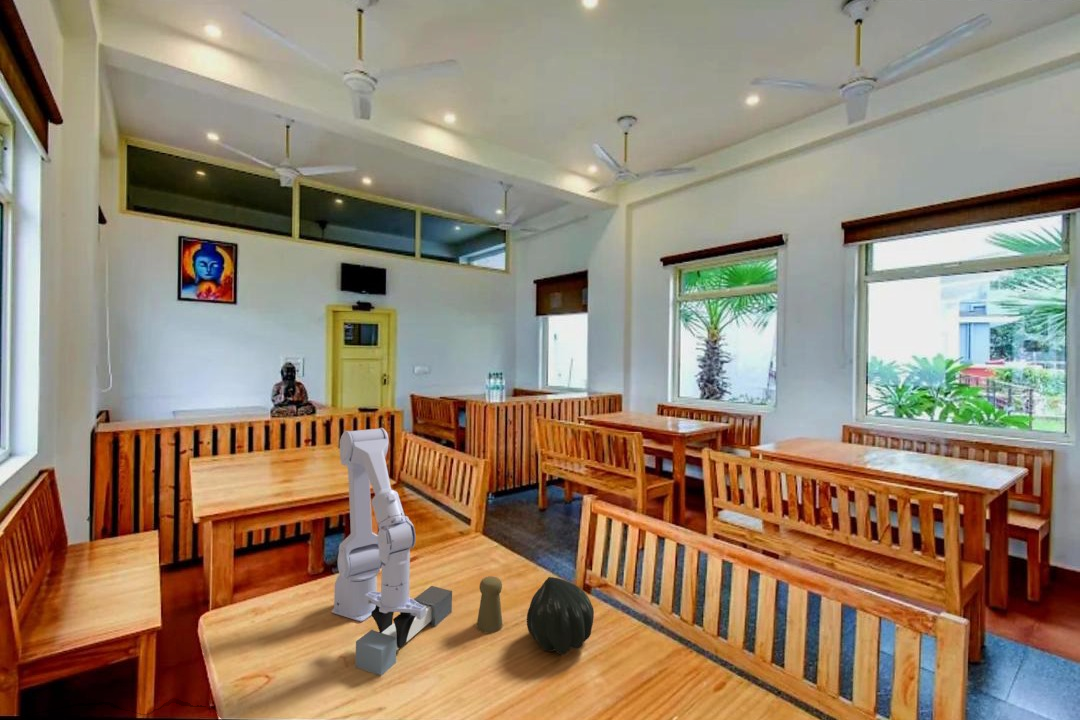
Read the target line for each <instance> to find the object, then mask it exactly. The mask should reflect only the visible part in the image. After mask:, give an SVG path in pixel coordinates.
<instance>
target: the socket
mask: <svg viewBox="0 0 1080 720" xmlns="http://www.w3.org/2000/svg"><path fill="white" fill-rule="evenodd" d="M396 639H397V638H396V637H393V636H390V635H387V634H384V633H380V632H379V631H377V630H374V629H370V630H369V631H368V632H367V633H365V634H364V635H362V636H361V637H360V638H358V639H357V640H356V641H355V668H358V669H361V670H363V671H367V672H369V673H372V674H373V675H377V676H380V677H381V676H383V675H384V674H385V673H386V672H387V671H388V670H390V669H391V668H392V667H393V666H394V665H395V664H396V663H397V651H396Z"/></svg>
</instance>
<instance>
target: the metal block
mask: <svg viewBox="0 0 1080 720" xmlns="http://www.w3.org/2000/svg"><path fill="white" fill-rule="evenodd" d="M413 600H415V601H416V602H418V603H420V602H421V603H425V604H428V605H432V606H433V608H432V621H431V622H429V623H428V624H427V625H426V626H431V627H437V626H438V625H439V624H440V623H441V622H443V620H444V619H446V618H447V617H448V616H449V615H450V614H451V613H452V612H453V611H452V610H453V609H452V608H453V602H452V601H453V591H452V590H449V589H446V588H443V587H437V586H436V585H435V586H434V585H431V586H429V587H428V588H426V589H425V590H424V591H422V592H421V593H420V594H418V595H417V596H416V597H414V598H413Z"/></svg>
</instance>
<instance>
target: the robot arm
mask: <svg viewBox="0 0 1080 720" xmlns="http://www.w3.org/2000/svg"><path fill="white" fill-rule="evenodd" d="M389 443H390V442H389V434H388V432H387V431H386V429H385V428H383V427H379V428H371V429H361V430H360V429H359V430H345V431H344V432H343V433H342V435H341V437H340V439H339V456H340V458H339V459H340V464H341V465H342V466H346V467H347V473H348V474H347V475H348V477H347V478H348V496H349V497H348V498H349V499H348V501H349V503H348V504H349V520H350V521H349V522H350V534H349V535H347V537H346V538H345V539H344V540H343V541H342V542H340V544H339V546H338V556H337V568H338V572H339V573H338V576H337V577H336V580H335V582H334V583H335V584H334V594H333V595H334V597H333V598H334V601H333V605H334V606H333V607H334V608H333V609H332V610H331V613H332V614H334V615H338V616H341V617H344V618H349V619H351V620H355V621H357V622H364V621H366V620H368V619H369V618H370V617H372V618H373V620H374V621H375V624H376V626H377V628H378V630H379V631H378V632H380V633H382V632H383V631H384V630H385V629H387V628H388V627H389V626H391V625H392V624H393V623H394V624H395V627H396V633H397V648H399V649H401V648H402V647H404V646H405V645H406V644H407V642H408V641H407V637H408V633H409V630H410V627H411V625H412V623H413V621H414V619H415V617H416V618H417V619H419V620H421V619H422V618H423V617H424V616H425V615H426V606H424V605H421V604H419V603H418V602H416V601H415V600H414V598H412V597H410V573H411V572H410V569H411V567H410V566H411V564H410V563H411V548H414V547H415V544H416V538H417V537H416V530H415V526H414V524H413V521H411V520H410V519H409V516H407V515H405V512H404V509H403V505H402V502H401V500H400V496H399V493H398V492H397V490H395V489H392V487H391V481H390V477H389V471H388V466H387V462H386V457H387V454H388V450H389ZM371 487H372V490H373V492H374V496H373V498H371ZM372 507H373V508H372ZM372 509H373V513H374V515H375V520H376V523H377V527H378V533H377V534H376V533H375V532H373V526H372V525H373V524H372V522H373V521H372ZM380 572H381V576H380V577H381V580H380V581H381V584H380V585H381V587H380V588H381V589H380V591H377V590H378V574H380ZM394 613H399V614H398V615H396V616H395V617H394ZM406 641H407V642H406Z"/></svg>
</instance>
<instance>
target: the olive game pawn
mask: <svg viewBox="0 0 1080 720" xmlns="http://www.w3.org/2000/svg"><path fill="white" fill-rule="evenodd" d="M502 590H503V584H502V581H501V579H500V578H499V577H496V576H492V575H490V576H487V577H483V578H482V579H481V581H480V583H479V591H480V594H481V595H480V596H481V597H480V603H479V609H478V615H477V621H476V628H477V630H478V631H480V632H481V633H485V634H493V633H497V632H499V631H501V629H503V627H504V626H503V615H502V606H501V596H500V594H501V592H502Z"/></svg>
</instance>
